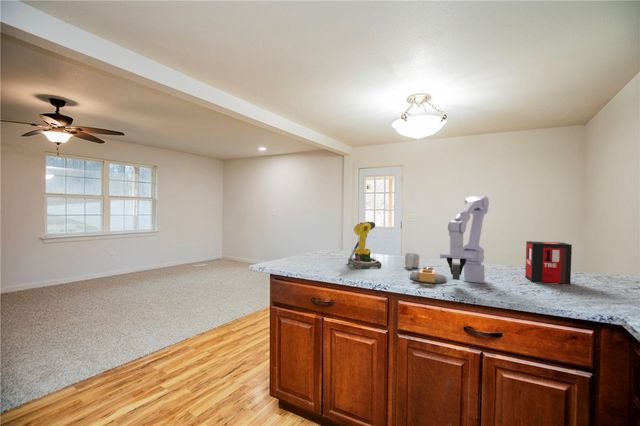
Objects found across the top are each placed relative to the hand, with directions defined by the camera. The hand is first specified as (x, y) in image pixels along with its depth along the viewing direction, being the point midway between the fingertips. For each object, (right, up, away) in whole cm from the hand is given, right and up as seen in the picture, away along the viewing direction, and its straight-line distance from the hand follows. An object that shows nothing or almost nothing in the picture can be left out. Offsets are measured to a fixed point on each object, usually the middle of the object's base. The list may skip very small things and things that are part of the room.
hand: (455, 274), depth 144 cm
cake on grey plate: (-8, -6, +14) cm, 17 cm away
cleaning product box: (+52, -6, +11) cm, 54 cm away
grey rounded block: (-9, -5, +41) cm, 42 cm away
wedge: (0, -2, 0) cm, 2 cm away
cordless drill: (-36, -5, +49) cm, 61 cm away
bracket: (-13, -4, +9) cm, 16 cm away
